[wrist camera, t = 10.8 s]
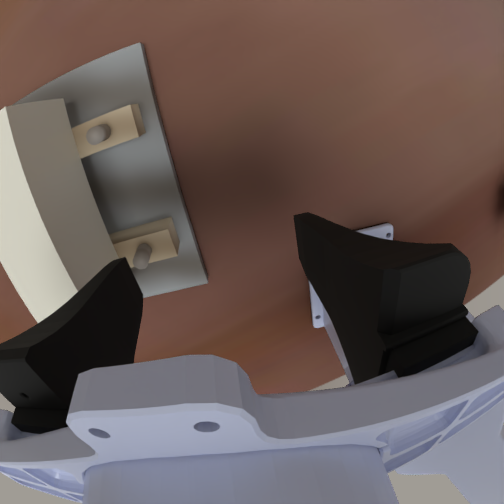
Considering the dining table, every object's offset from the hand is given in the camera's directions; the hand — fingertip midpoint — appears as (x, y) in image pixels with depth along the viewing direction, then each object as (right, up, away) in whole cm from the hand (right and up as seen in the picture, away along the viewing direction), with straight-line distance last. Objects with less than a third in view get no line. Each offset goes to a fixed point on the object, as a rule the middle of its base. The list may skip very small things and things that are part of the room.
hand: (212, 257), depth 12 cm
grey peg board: (-10, +4, +7) cm, 13 cm away
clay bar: (-10, +3, +4) cm, 11 cm away
